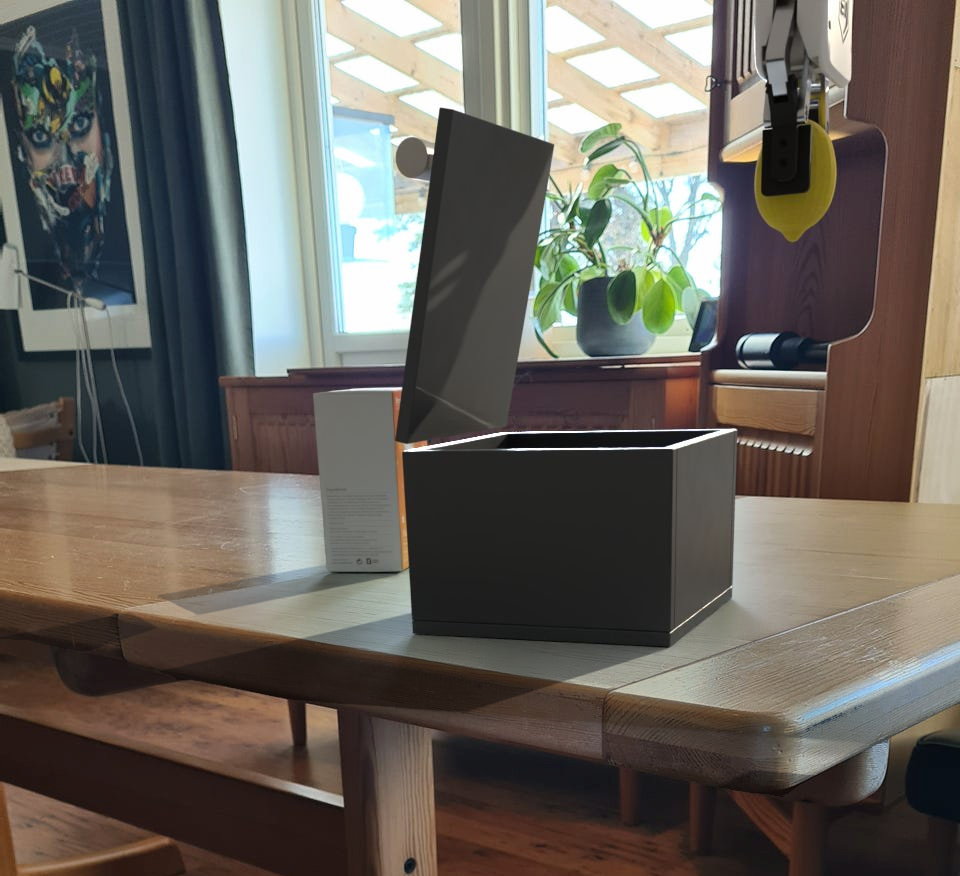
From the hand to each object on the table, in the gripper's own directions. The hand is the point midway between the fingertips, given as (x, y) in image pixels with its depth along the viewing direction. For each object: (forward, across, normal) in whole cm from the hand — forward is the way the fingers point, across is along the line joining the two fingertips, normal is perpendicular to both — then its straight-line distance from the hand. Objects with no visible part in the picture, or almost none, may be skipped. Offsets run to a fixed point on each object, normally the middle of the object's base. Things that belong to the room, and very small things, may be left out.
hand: (794, 195), depth 89 cm
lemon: (+3, 0, 0) cm, 3 cm away
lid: (+6, -27, +12) cm, 30 cm away
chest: (+24, -26, +7) cm, 37 cm away
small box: (+24, -11, +29) cm, 39 cm away
